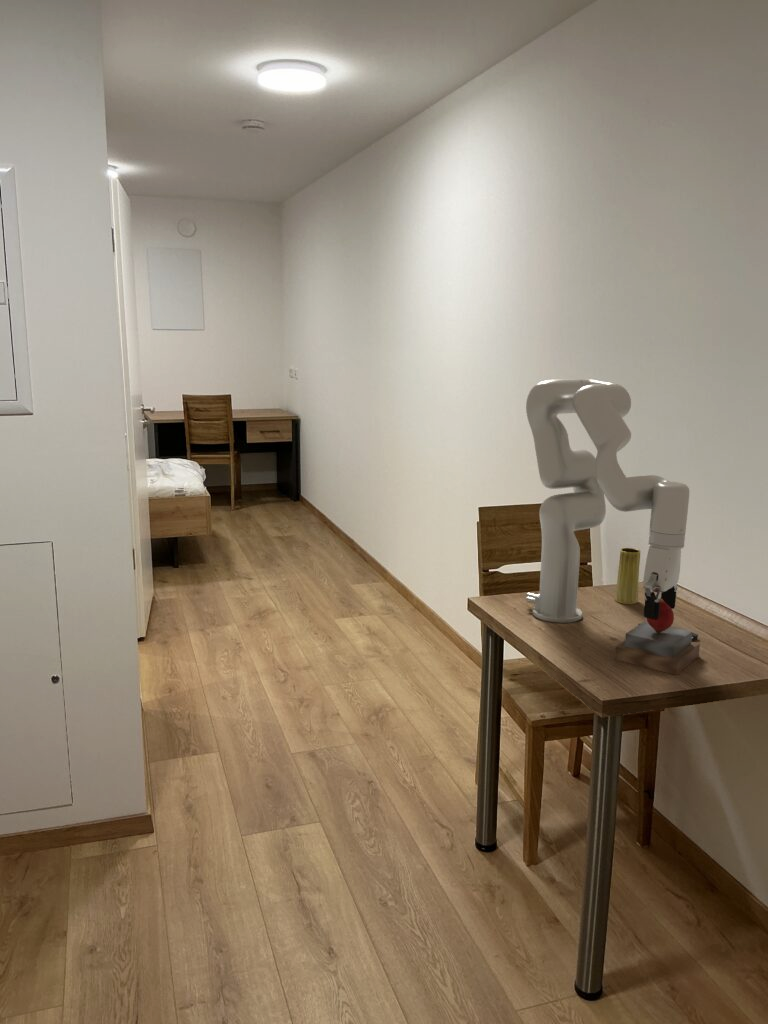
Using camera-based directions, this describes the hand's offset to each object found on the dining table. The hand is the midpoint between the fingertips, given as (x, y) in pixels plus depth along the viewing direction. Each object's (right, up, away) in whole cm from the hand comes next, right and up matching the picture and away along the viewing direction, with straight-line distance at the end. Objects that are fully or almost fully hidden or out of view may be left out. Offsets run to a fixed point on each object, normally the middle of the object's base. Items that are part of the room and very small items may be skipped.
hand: (659, 612), depth 195 cm
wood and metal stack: (0, -10, +2) cm, 11 cm away
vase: (+4, -2, +42) cm, 42 cm away
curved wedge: (+8, -8, +17) cm, 20 cm away
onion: (0, -5, +1) cm, 5 cm away
